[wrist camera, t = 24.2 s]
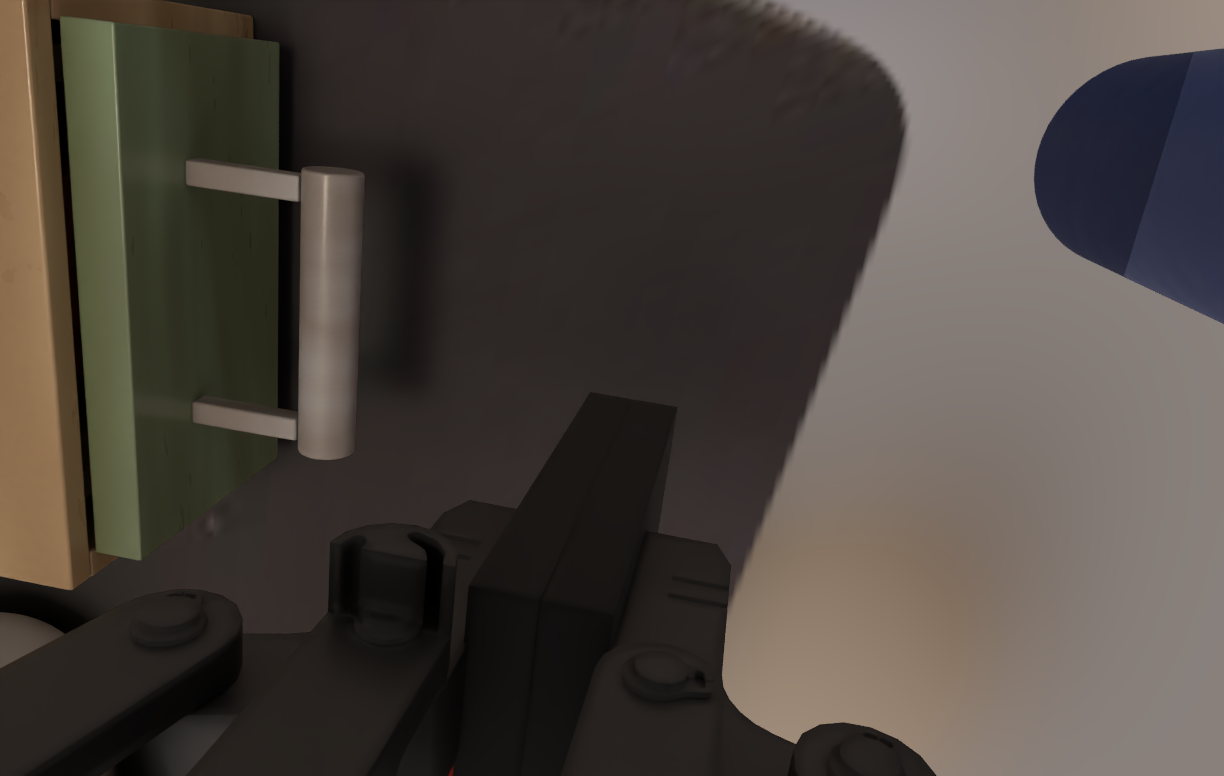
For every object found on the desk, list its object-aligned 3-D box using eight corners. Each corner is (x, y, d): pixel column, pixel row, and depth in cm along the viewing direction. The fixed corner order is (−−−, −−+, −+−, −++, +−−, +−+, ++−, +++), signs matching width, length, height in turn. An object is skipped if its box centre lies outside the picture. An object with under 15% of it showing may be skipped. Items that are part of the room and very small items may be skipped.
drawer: (430, 62, 24) (314, 47, 17) (407, 481, 28) (305, 593, 21) (-135, -12, 25) (-428, -50, 19) (-82, 393, 29) (-310, 473, 23)
